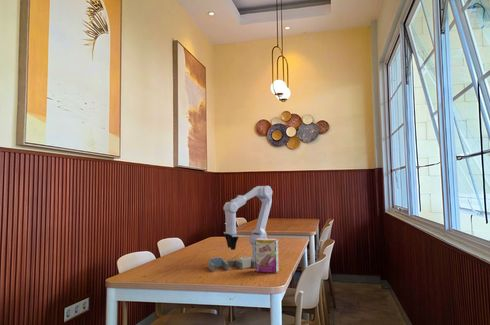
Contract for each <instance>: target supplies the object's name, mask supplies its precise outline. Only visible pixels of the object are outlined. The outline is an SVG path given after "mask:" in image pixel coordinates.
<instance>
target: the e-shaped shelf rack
mask: <svg viewBox="0 0 490 325" xmlns="http://www.w3.org/2000/svg"><path fill="white" fill-rule="evenodd" d="M231 266H236V267H237V268H238V269H239V270H243V268H242V262H241V261H240V259H238V258H235V259H233V260H225V259H223V257H221V256H220V257H210V259H209V260H208V262H207V268H208V269H209V270H210V271H211V272H212V273H214V272H215V268H223V269H224V270H225V271H226V272H228V271H230V270H229V269H230V268H229V267H231ZM251 268H253V269H256V265H255V261H254V260H253V259H252V258H251Z"/></svg>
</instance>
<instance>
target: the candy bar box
mask: <svg viewBox="0 0 490 325" xmlns="http://www.w3.org/2000/svg"><path fill="white" fill-rule="evenodd" d="M255 265H256V268H255V272H257V273H270V274H277V273H278V272H279V270H280V269H279V266H280V265H279V239H277V238H267V239H262V238H258V239H255Z"/></svg>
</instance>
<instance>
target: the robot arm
mask: <svg viewBox="0 0 490 325" xmlns="http://www.w3.org/2000/svg"><path fill="white" fill-rule="evenodd" d="M273 193H274V192H273V190H272V188H271V186H269V185H257V186H256V187H255V186H254V187H253V188H252V189H251V190H250V191H248V192H247V193H245V194H243V195H241V194H239V195H236V197H235V198H233V199H230V201H226V202H225V204H224V205H223V207H222V209H223V211H224V215H225V231H223V234H224V238H225V241H226V243H227V248H230V250H231V251H235V250H236V246H237V242H238V240H239V236H237V233H238V232H237V215H236V214H237V213H236V212H237V211H238V209H239V208H241V207H242V206H244V205H245V204H247V201H249V200H250V199H252V198H254V197H257V199H259V200H260V201H261V207H260V211H259V213H258V217H257V222H256V226H255V228H254V229H253V230H252V232H251V234H250V236H249V238H248V241H249V244H251V245H250V246H251V259H253V260H254V261H255V239H258V238H262V239H268V237H267V236H268V233H267V232H266V226H267V222H268V220H269V219H268V218H269V215H270V211H271V207H272V202H273V200H272V199H273V198H272V196H273Z"/></svg>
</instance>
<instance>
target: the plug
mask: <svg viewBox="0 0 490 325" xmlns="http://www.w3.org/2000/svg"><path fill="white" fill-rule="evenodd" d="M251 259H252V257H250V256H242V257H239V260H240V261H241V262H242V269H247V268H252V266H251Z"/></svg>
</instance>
